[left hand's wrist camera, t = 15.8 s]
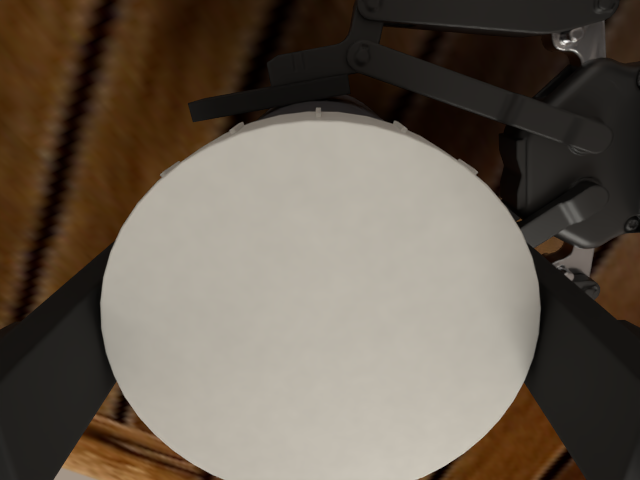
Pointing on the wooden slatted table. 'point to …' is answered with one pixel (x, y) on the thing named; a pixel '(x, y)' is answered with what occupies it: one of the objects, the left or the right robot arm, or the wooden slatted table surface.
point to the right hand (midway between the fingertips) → (227, 217)
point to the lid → (320, 303)
